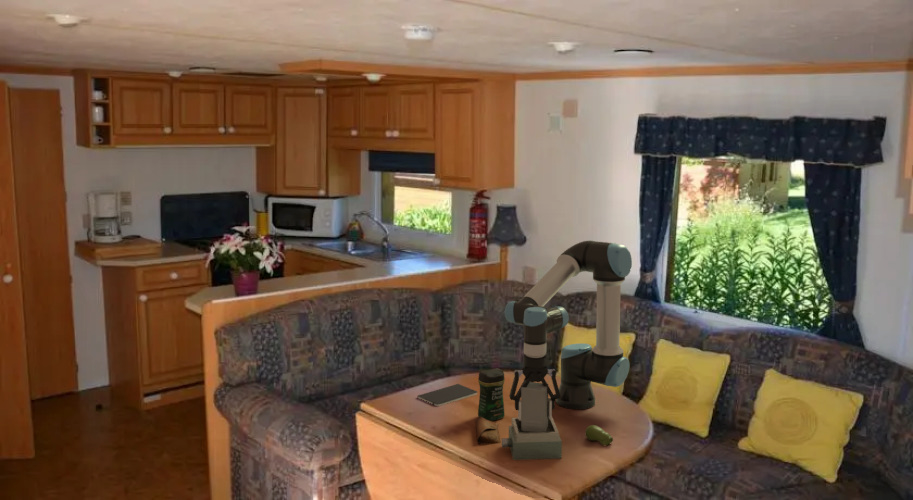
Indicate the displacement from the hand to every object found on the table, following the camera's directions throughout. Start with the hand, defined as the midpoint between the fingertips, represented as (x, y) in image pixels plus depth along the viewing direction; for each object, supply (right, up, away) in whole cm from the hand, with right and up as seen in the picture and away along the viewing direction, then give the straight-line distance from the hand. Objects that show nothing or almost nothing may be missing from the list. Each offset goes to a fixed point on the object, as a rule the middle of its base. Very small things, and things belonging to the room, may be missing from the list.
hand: (534, 418), depth 271 cm
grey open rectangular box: (-1, -11, +2) cm, 11 cm away
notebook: (-30, -3, +54) cm, 62 cm away
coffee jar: (-13, -6, +31) cm, 34 cm away
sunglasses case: (-15, -9, +16) cm, 24 cm away
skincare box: (0, -4, +1) cm, 4 cm away
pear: (+23, -10, +9) cm, 27 cm away
